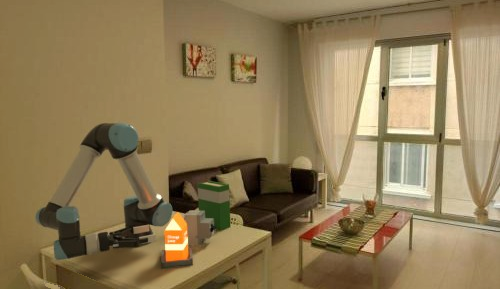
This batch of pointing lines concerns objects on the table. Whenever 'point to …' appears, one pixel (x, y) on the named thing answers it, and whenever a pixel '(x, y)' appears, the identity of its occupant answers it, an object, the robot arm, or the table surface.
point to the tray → (176, 262)
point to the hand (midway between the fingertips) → (152, 232)
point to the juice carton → (176, 239)
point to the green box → (215, 203)
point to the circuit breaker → (198, 227)
